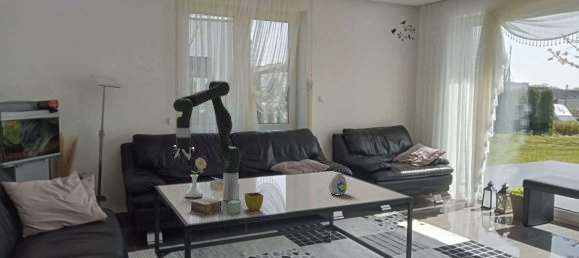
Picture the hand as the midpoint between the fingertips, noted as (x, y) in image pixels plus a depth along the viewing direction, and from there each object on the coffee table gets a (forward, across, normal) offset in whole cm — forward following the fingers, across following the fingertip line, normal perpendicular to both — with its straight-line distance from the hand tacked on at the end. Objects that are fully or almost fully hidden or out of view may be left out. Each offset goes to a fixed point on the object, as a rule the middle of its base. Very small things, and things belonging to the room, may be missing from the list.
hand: (183, 165), depth 237 cm
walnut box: (+27, -7, -11) cm, 30 cm away
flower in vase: (+28, +18, -34) cm, 48 cm away
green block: (+27, -21, -17) cm, 39 cm away
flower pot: (+28, -28, -27) cm, 48 cm away
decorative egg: (+29, -58, -90) cm, 111 cm away
